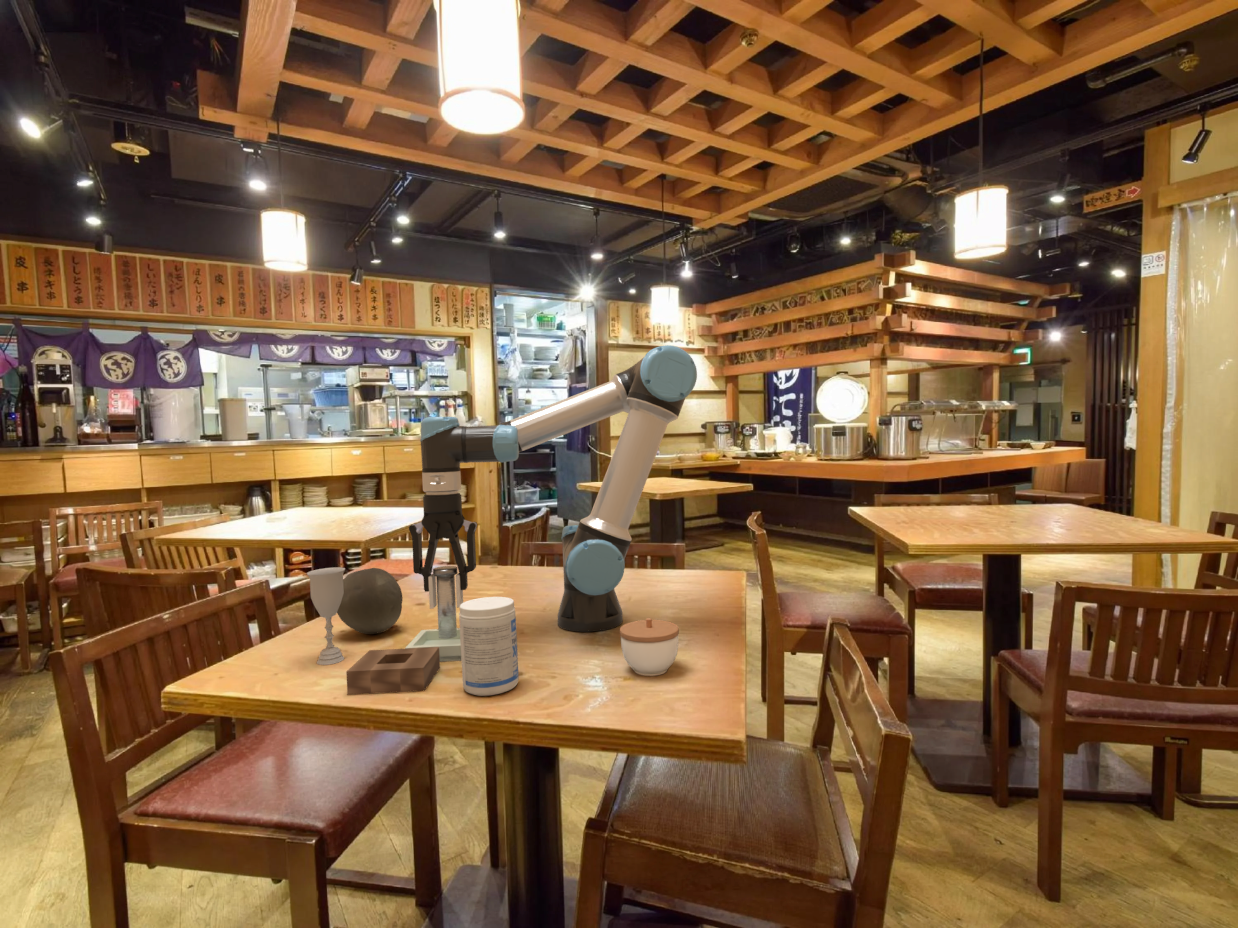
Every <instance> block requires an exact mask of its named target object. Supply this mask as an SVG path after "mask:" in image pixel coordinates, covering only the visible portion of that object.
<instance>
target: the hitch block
mask: <svg viewBox="0 0 1238 928" xmlns="http://www.w3.org/2000/svg"><path fill="white" fill-rule="evenodd" d="M440 669H441V662H440V655H439V647H428V648H407V649H405V648H390V649H389V648H388V649H387V648H386V649H372V650H371V649H370V650H368V651H367V652H366V653H365V654H364V655H363V656H362V657H360V658H359V659H358V661H356V662H355V663H354V664H353V665H351V666H350V668H348V669H347V670H346V672H345V673H346V674H345V675H346V693H347V696H348V694H349V695H364V694H363V693H369V694H384V693H387V694H388V693H401V692H404V693H405V692H407V693H409V692H422V691H423V690H424V691H425V690H426V689H427V688H428V686H429V685H430V683H431V682H432V680H433V679H434V677H435V676H436V675H437V673H438V672H439V671H440ZM437 671H438V672H437ZM426 687H427V688H426ZM421 690H422V691H421ZM424 691H423V692H424ZM361 693H362V694H361Z"/></svg>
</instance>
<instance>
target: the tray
mask: <svg viewBox="0 0 1238 928" xmlns="http://www.w3.org/2000/svg"><path fill="white" fill-rule="evenodd" d="M428 647H439V655H440V663H442V662H458V661H459V662H460V661H461V642H460V627H457V636H456V637H454V638H450V639H441V638H439V631H438V629H436V628H434V629H421V630H420V631H419V632H418V634H416V635H415V637H413V639H412V640H411V641H410V642H409V643H408V644H407V645H406V646H405V647H404V649H407V648H428ZM461 662H462V661H461Z"/></svg>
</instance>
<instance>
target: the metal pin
mask: <svg viewBox="0 0 1238 928" xmlns="http://www.w3.org/2000/svg"><path fill="white" fill-rule="evenodd" d="M458 573H459V570H458V567H457V565H455V566H454V565H444V566H438V567H433V568H432V574H433V576H436V599H437V605H436V606H437V626H438V631H439V638H441V639H450V638H454V637H456V636H457V628H458V627H457V598H456V575H457V574H458Z"/></svg>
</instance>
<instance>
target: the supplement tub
mask: <svg viewBox="0 0 1238 928" xmlns="http://www.w3.org/2000/svg"><path fill="white" fill-rule="evenodd" d="M458 614H459V617H458V619H459V628H460V642H461V676H462V677H461V678H462V687H463V690H464V691H465V692H466V693H468V694H470V695H474V696H477V697H478V696H479V697H488V696H496V695H499V694H503V693H506V692H509V691H511V690H512V689H514V688H515V687H516V686H517V684H518V682H519V658H518V655H519V654H518V638H517V637H518V635H517V634H518V633H517V618H516V617H517V616H516V607H515V600H514V599H512V598H511V597H507V596H506V597H505V596H486V597H479V598H474V599H469V600H466V601H463V603H462V604H461V605H460V608H459V613H458Z"/></svg>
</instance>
